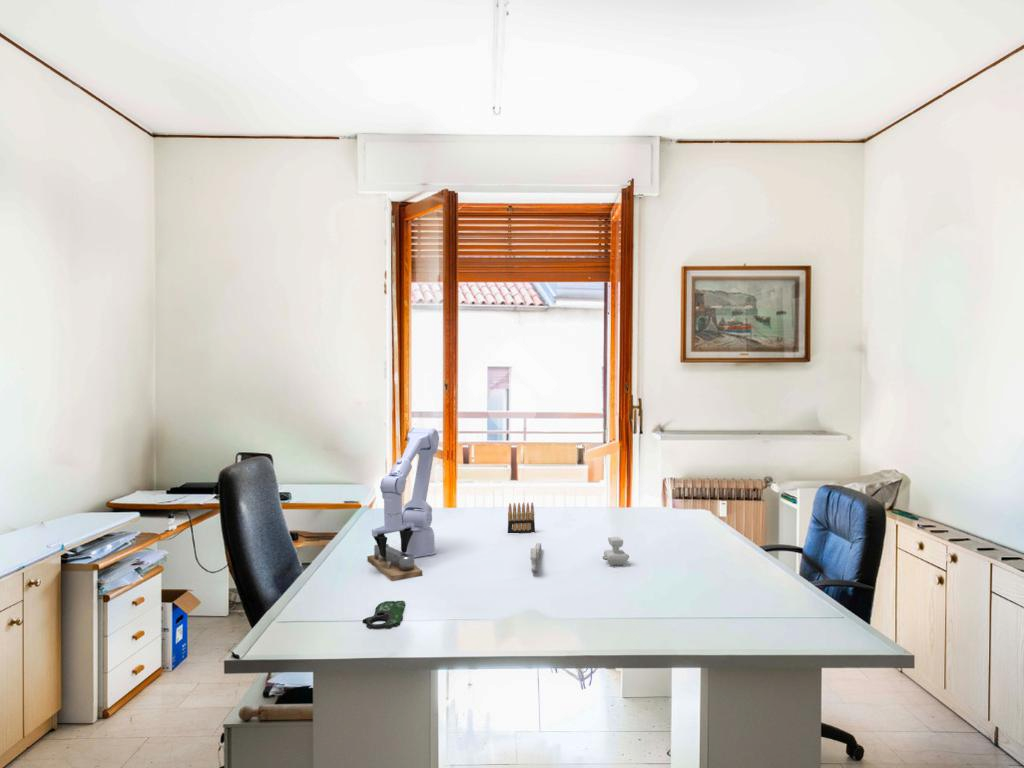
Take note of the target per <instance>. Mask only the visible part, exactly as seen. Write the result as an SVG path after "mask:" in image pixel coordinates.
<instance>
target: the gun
mask: <svg viewBox="0 0 1024 768" xmlns="http://www.w3.org/2000/svg"><path fill="white" fill-rule="evenodd" d="M405 607H406V601H405V600H388V601H387V600H386V601H382V602H380V603H379V604H377V606H376V607H375V609H374V610H375V611H374V614H373V615H372V616H368V617H365V618H364V619H362V624H365V625H366V628H367V629H369V630H371V629H372V630H382V629H386V630H391V629H393V627H395V628H396V627H397V628H398V626H400V625H401V623H402V621H403V618H404V617H403V616H404V615H403V614H404V611H405V609H404V608H405ZM384 621H385V622H384ZM375 622H382V623H375Z"/></svg>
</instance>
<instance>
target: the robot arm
mask: <svg viewBox="0 0 1024 768" xmlns="http://www.w3.org/2000/svg"><path fill="white" fill-rule="evenodd" d="M406 438H407V439H406V440H407V445H406V447H405V449H404V452H402V453H403V454H402V456H401V457H400V458H398V459H396V460H395V463H394V464H393V466H392V468H391V469H390V471H389V473H388V475H386V476H384V477H383V478H382V479H381V481H380V485H379V486H380V487H379V489H380V492H381V494H382V499H383V511H384V515H383V516H384V519H383V522H384V525H383V526H380V527H377V528H374V529H371V536H372V537H373V539H374V540H375V543H376V545H378V547H379V550H380V555H381V556H382V557H386V544H387V542H388V537H387V536H386V535H387V534H392V533H396V532H399V536H400V537H399V538H400V551H401V552H403V553H406V554H412V555H414V559H416V558H419V557H425V556H432V555H436V552H435V531H434V529H433V527H431V525H432V523H433V508H432V507H431V505H430V504H429V503H428V502H427V497H428V491H429V486H430V479H431V474H432V468H433V462H434V456H435V454H437V453H438V448H439V442H440V435H439V432H438V430H437V429H436V428H415V427H411V428H410V429H409V431H408V433H407V436H406ZM417 455H418V461H417V466H416V473H415V478H414V484H413V488H412V489H413V490H412V494H411V495H412V496H411V499H410V500H409V501H407V502H406V503H405V504H404V505H403V493H404V492H405V490H406V484H407V477H408V476H409V474H410V472H411V470H412V468H413V465H412V462H413V460H415V457H416V456H417Z"/></svg>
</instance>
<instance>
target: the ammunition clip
mask: <svg viewBox="0 0 1024 768" xmlns="http://www.w3.org/2000/svg"><path fill="white" fill-rule="evenodd" d="M520 503H521V502H518V504H516V502H514V503H513V505H512V504H511V502H509V504H508V514H507V534H508V533H519V534H532V533H531V532H535V533H536V527H535V525H536V524H535V507H534V502H531V503H530V504H529V502H527V503H526V505H525V502H522V506H521V504H520Z"/></svg>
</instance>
